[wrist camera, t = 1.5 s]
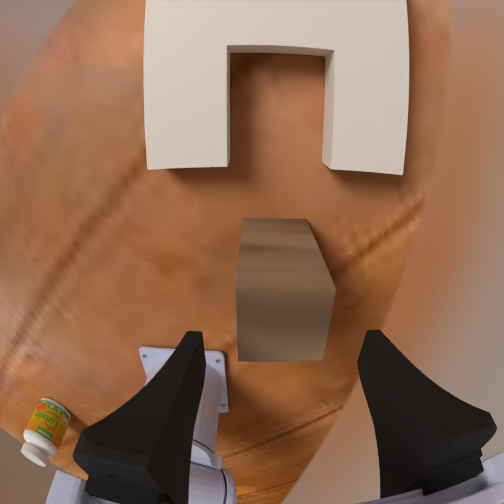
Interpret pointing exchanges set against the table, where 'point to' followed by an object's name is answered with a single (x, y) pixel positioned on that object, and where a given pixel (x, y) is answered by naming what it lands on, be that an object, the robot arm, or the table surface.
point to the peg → (282, 292)
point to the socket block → (276, 41)
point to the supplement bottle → (45, 431)
